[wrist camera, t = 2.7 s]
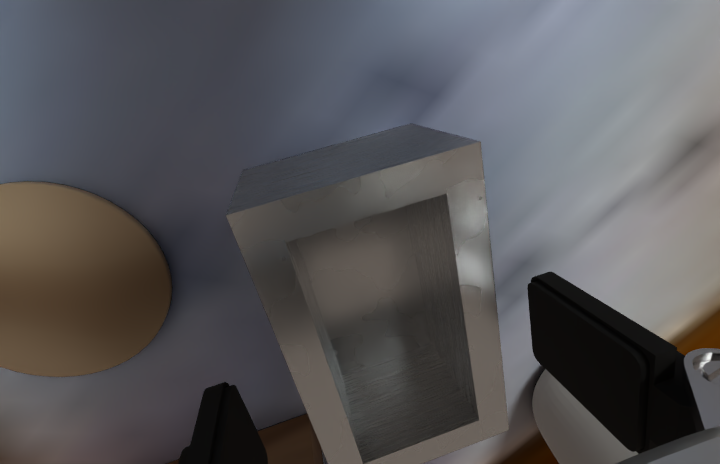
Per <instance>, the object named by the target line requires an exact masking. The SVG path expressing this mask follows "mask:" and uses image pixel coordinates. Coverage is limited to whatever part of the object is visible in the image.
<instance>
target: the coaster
mask: <svg viewBox="0 0 720 464" xmlns="http://www.w3.org/2000/svg"><path fill="white" fill-rule="evenodd" d="M171 299H172V279H171V274H170V270H169V266H168V263H167V261H166V258H165V256H164V253H163V252H162V250H161V248H160V247H159V245H158V243H157V242H156V240H155V239H154V238H153V237H152V235H151V234H150V233H149V232H148V230H147V229H146V228H145V227H144V226H143V225H142V224H141V223H140V222H139V221H138V220H136V219H135V218H134V217H132V216H131V215H130V214H129V213H127V212H126V211H125V210H123V209H122V208H120V207H118V206H117V205H115V204H113V203H112V202H110V201H108V200H106V199H104V198H102V197H100V196H98V195H95V194H93V193H90V192H87V191H84V190H82V189H78V188H75V187H71V186H67V185H63V184H56V183H49V182H34V181H23V182H10V183H4V184H0V367H2V368H6V369H9V370H12V371H16V372H21V373H26V374H31V375H39V376H48V377H68V376H80V375H86V374H92V373H96V372H99V371H103V370H106V369H109V368H112V367H114V366H117V365H119V364H121V363H123V362H125V361H127V360H129V359H130V358H132V357H133V356H135V355H136V354H138V353H139V352H140V351H141V350H143V349H144V348H145V347H146V346H147V345H148V344H149V343H150V342H151V341H152V340H153V338H154V337H155V336H156V335H157V333H158V331H159V330H160V328H161V326H162V324H163V322H164V320H165V318H166V315H167V313H168V311H169V307H170V303H171Z"/></svg>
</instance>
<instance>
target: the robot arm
mask: <svg viewBox="0 0 720 464" xmlns="http://www.w3.org/2000/svg"><path fill="white" fill-rule="evenodd" d="M528 299H529V311H530V323H531V335H532V347H533V353H534V356H535V358H536V359H537V361H538V362H539V363H540V364H541V365H542V366H543V367H544V368H545V369H546V370H547V371H548V372H549V373H550V374H551V375H552V376H553V377H554V378H555V379H556V380H557V381H558V382H559V383H560V384H561V385H562V386H563V387H565V388H566V389H567V390H568V391H569V392H570V393H571V394H572V395H573V396H574V397H575V398H576V399H577V400H578V401H579V402H580V403H581V404H582V405H583V406H584V407H585V408H586V409H587V410H588V411H589V412H590V413H591V414H592V415H593V416H594V417H595V418H596V419H597V420H598V421H599V422H600V423H601V424H602V425H603V426H604V427H605V428H606V429H607V430H608V431H609V432H610V433H611V434H612V435H613V436H614V437H615V438H616V439H617V440H618V441H619V442H621V443H622V444H623V445H624V446H625V447H626V448H627V449H628V450H630V451H632V452H635V451H636V452H637V453H638V455H635V456H632V457H630V458H627V459H625V460H623V461H620V462H618V463H615V464H720V349H705V348H704V349H698V350H694V351H692V352H690V353H688V354H687V355H686V356H684V355H683V354H681V353H679V352H678V351H677V347H675V346H674V345H672V344H670V343H669V342H667V341H665V340H664V339H662V338H660V337H659V336H657V335H655V334H654V333H652V332H650V331H649V330H647V329H645V328H644V327H642V326H641V325H639V324H637V323H636V322H634V321H632V320H631V319H629V318H627V317H626V316H624V315H622V314H621V313H619V312H617V311H616V310H614V309H613V308H611V307H609V306H608V305H606V304H604V303H603V302H601V301H599V300H598V299H596V298H594V297H593V296H591V295H589V294H588V293H586V292H584V291H583V290H581V289H580V288H578V287H576V286H575V285H573V284H571V283H570V282H568V281H566V280H565V279H563V278H561V277H560V276H558V275H556V274H555V273H553V272H547V273H544V274H541V275H538V276H535V277H533V278H532V279H531V283H529V284H528ZM178 464H268V457H267V452H266V449H265V447H264V445H263V442H262V440H261V438H260V436H259V434H258V432H257V430H256V428H255V426H254V423H253V421H252V419H251V417H250V415H249V413H248V411H247V409H246V406H245V404H244V402H243V400H242V398H241V396H240V394H239V392H238V390H237V388H236V386H235V385H231V386H229V385H228V383H227V382H224V383H221V384H218V385H215V386H212V387H209V388H206V389H205V391H204V393H203V397H202V401H201V405H200V409H199V413H198V417H197V421H196V425H195V429H194V433H193V436H192V440H191V444H190V446H188V447H186V448H185V449H184V450H183V451H182V453H181V456H180V459H179V462H178Z"/></svg>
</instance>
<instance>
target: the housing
mask: <svg viewBox="0 0 720 464" xmlns="http://www.w3.org/2000/svg"><path fill="white" fill-rule="evenodd" d="M226 217H227V219H228V222H229V224H230V227H231V229H232V231H233V234H234V236H235V239H236V241H237V244H238V246H239V248H240V251H241V253H242V256H243V258H244V261H245V263H246V265H247V268H248V270H249V273H250V275H251V278H252V280H253V283H254V285H255V287H256V290H257V292H258V295H259V297H260V300H261V302H262V304H263V307H264V309H265V312H266V314H267V317H268V319H269V321H270V324H271V326H272V329H273V331H274V334H275V336H276V338H277V341H278V343H279V346H280V348H281V351H282V353H283V355H284V358H285V360H286V363H287V365H288V368H289V370H290V372H291V375H292V377H293V380H294V382H295V385H296V387H297V389H298V392H299V394H300V397H301V399H302V402H303V404H304V406H305V409H306V411H307V414H308V416H309V419H310V421H311V423H312V426H313V428H314V431H315V433H316V436H317V438H318V440H319V443H320V445H321V448H322V450H323V453H324V455H325V457H326V460H327V462H328V464H422V463H425V462H427V461H430V460H433V459H435V458H438V457H440V456H443V455H446V454H448V453H451V452H453V451H456V450H459V449H461V448H464V447H466V446H469V445H472V444H474V443H477V442H479V441H482V440H485V439H487V438H490V437H492V436H495V435H498V434H500V433H503V432H505V431H508V430H509V427H508V417H507V406H506V396H505V386H504V376H503V366H502V355H501V345H500V335H499V325H498V315H497V304H496V294H495V284H494V274H493V264H492V253H491V243H490V233H489V223H488V213H487V202H486V192H485V182H484V172H483V162H482V151H481V142H480V141H476V140H473V139H469V138H465V137H461V136H457V135H454V134H450V133H446V132H442V131H438V130H435V129H431V128H427V127H423V126H420V125H416V124H412V123H410V124H407V125H403V126H399V127H396V128H392V129H389V130H385V131H381V132H378V133H374V134H371V135H367V136H363V137H360V138H356V139H353V140H349V141H346V142H342V143H338V144H335V145H331V146H328V147H324V148H320V149H317V150H313V151H310V152H306V153H302V154H299V155H295V156H292V157H288V158H284V159H281V160H277V161H274V162H270V163H266V164H263V165H259V166H256V167H252V168H248V169H245V170H243V171H242V174H241V176H240V179H239V182H238V184H237V187H236V190H235V192H234V195H233V198H232V200H231V203H230V206H229V209H228V211H227V214H226Z"/></svg>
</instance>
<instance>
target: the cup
mask: <svg viewBox="0 0 720 464" xmlns="http://www.w3.org/2000/svg"><path fill="white" fill-rule="evenodd" d="M532 409H533V414H534V418H535V421H536V424H537V426H538V428H539V430H540V432H541V434H542V436H543V438H544V440H545V441H546V443H547V445H548V446H549V448H550V450H551V451H552V453H553V454H554V456H555V458H556V459H557V461H558V462H559V464H615V463H618V462H620V461H623V460H625V459H627V458H630V457H632V456H635V455H638V453H637V452H636V451H635V452H632V451H630V450H628V449H627V448H626V447H625V446H624V445H623V444H622V443H621V442H619V441H618V440H617V439H616V438H615V437H614V436H613V435H612V434H611V433H610V432H609V431H608V430H607V429H606V428H605V427H604V426H603V425H602V424H601V423H600V422H599V421H598V420H597V419H596V418H595V417H594V416H593V415H592V414H591V413H590V412H589V411H588V410H587V409H586V408H585V407H584V406H583V405H582V404H581V403H580V402H579V401H578V400H577V399H576V398H575V397H574V396H573V395H572V394H571V393H570V392H569V391H568V390H567V389H566V388H565V387H563V386H562V385H561V384H560V383H559V382H558V381H557V380H556V379H555V378H554V377H553V376H552V375H551V374H550V373H549V372H548V371H547V370H546V369H545V370H544V372H543V373H542V374H541V376H540V378H539V380H538V382H537V384H536V386H535V389H534V393H533V399H532Z"/></svg>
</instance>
